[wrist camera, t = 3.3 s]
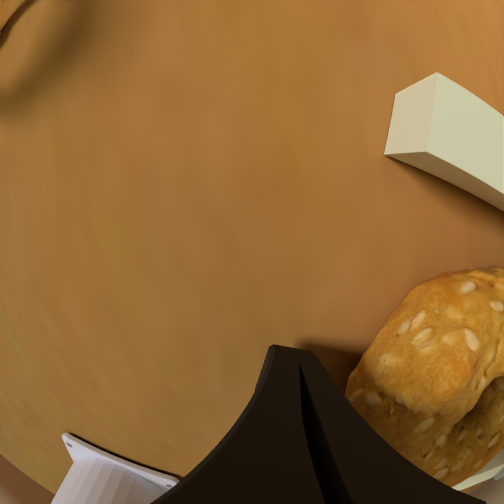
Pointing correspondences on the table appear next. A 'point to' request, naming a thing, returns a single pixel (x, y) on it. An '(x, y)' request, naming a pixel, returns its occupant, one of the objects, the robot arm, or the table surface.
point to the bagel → (439, 375)
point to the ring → (3, 11)
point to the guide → (452, 157)
